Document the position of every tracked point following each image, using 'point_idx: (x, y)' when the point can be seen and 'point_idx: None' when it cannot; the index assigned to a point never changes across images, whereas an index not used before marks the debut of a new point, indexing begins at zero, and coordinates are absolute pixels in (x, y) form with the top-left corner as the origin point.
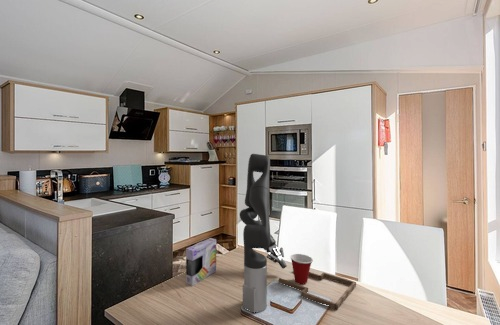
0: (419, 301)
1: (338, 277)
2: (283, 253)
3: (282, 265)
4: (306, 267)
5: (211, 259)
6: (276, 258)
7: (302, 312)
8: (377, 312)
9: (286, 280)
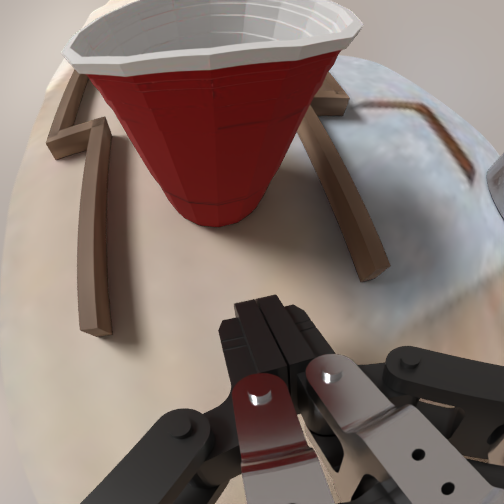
0: (94, 17)
1: (71, 85)
2: (110, 477)
3: (307, 319)
4: (245, 28)
5: None
6: (438, 368)
7: (392, 85)
8: None
9: (351, 207)
